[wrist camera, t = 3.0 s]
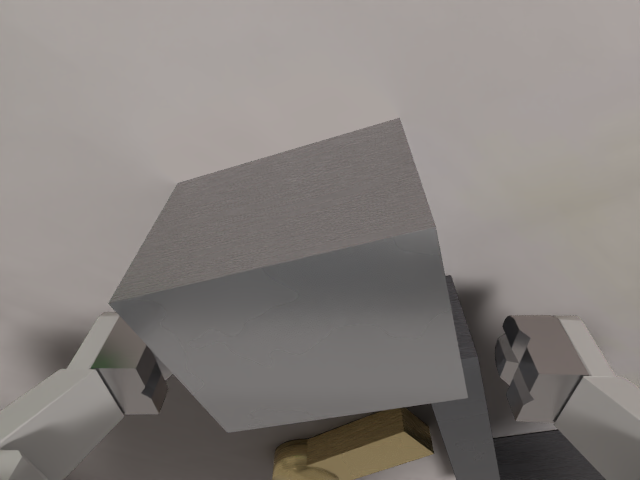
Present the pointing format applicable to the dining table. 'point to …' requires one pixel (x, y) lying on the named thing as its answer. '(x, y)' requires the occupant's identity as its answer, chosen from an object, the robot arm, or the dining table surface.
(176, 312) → the block
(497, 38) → the dining table surface
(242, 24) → the dining table surface
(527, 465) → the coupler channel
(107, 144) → the dining table surface
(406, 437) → the brass key
